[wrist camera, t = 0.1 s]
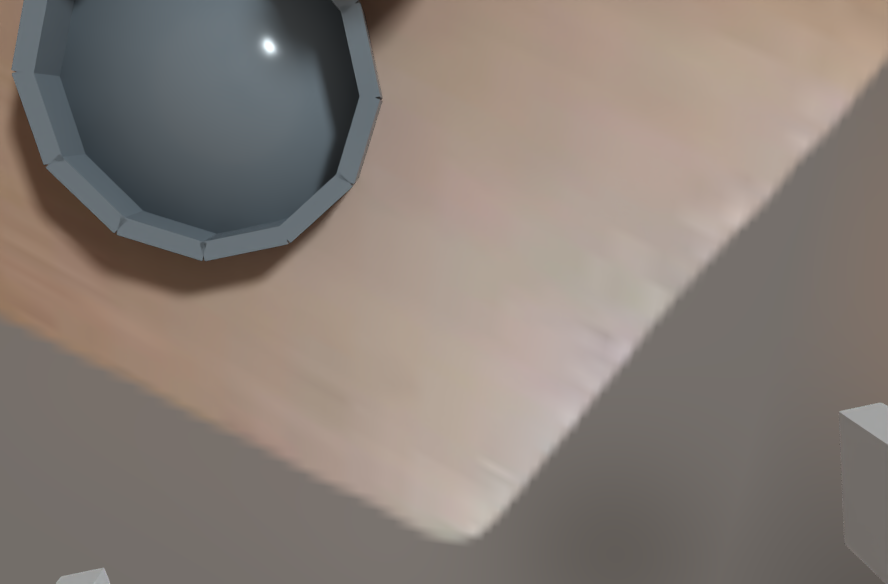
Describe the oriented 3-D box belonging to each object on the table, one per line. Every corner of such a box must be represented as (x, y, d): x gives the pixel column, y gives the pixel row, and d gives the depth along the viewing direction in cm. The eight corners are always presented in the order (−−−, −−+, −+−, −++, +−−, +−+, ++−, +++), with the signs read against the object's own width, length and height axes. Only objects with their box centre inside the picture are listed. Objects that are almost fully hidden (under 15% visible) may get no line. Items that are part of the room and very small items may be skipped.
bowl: (6, -52, 34) (-39, -70, 30) (336, -118, 34) (329, -145, 30) (114, 270, 38) (86, 285, 35) (406, 210, 38) (406, 219, 35)
